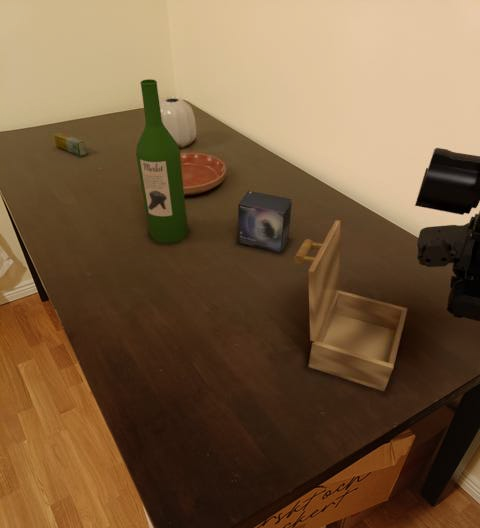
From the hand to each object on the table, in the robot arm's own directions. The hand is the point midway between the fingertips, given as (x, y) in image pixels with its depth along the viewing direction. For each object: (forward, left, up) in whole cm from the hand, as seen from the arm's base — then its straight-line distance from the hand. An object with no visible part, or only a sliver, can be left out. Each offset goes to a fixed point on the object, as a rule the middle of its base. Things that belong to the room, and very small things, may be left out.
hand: (457, 315), depth 62 cm
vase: (+47, -99, -13) cm, 110 cm away
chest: (+11, -6, -13) cm, 18 cm away
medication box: (+80, -95, -13) cm, 125 cm away
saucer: (+43, -72, -13) cm, 85 cm away
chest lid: (+17, -9, 0) cm, 19 cm away
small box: (+24, -40, -13) cm, 48 cm away
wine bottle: (+46, -45, -13) cm, 66 cm away
